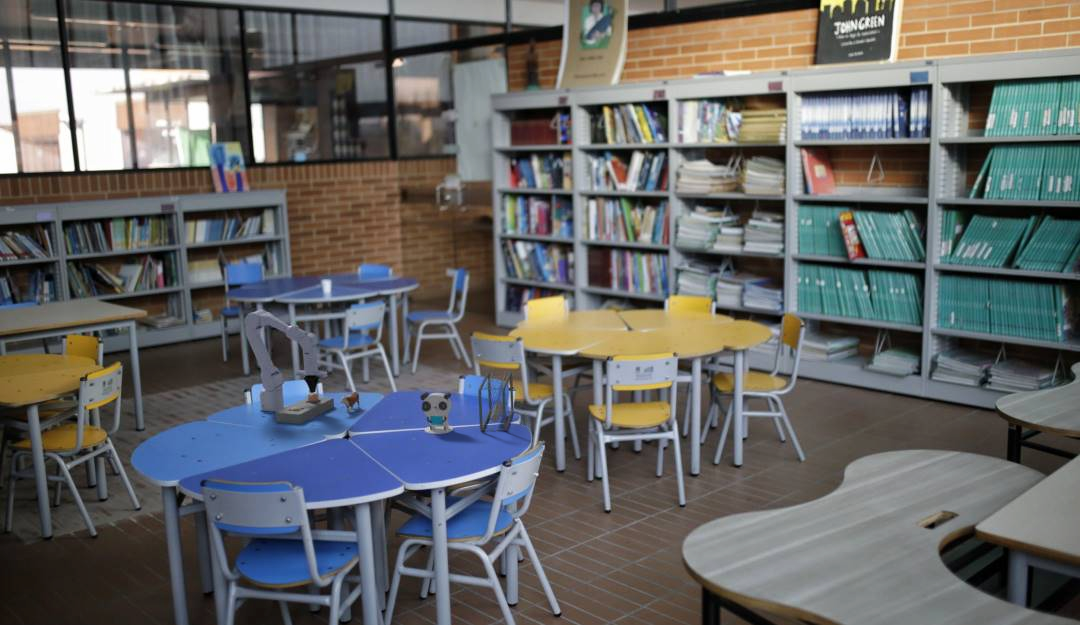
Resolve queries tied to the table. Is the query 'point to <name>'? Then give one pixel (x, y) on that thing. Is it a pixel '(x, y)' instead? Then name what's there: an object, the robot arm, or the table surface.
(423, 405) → the panda figurine
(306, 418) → the block
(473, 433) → the table surface
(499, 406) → the newton's cradle
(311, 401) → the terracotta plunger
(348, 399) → the bull figurine
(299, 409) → the birch plunger
